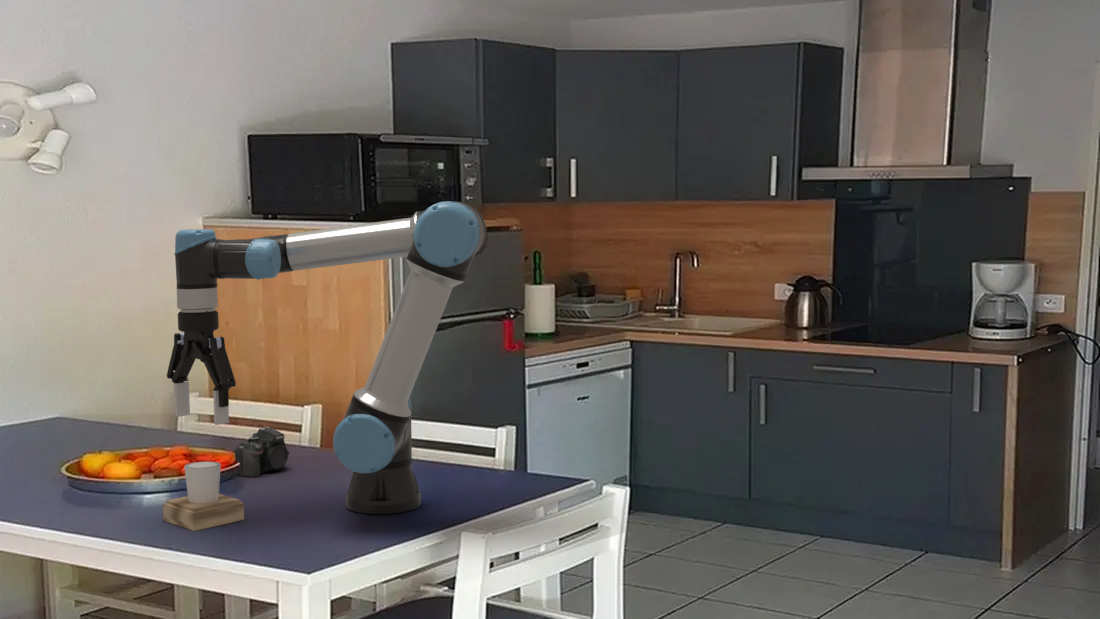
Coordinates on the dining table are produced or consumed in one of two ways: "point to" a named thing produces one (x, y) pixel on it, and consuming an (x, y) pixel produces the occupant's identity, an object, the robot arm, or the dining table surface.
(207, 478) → the shot glass
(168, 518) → the stand
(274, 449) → the camera
